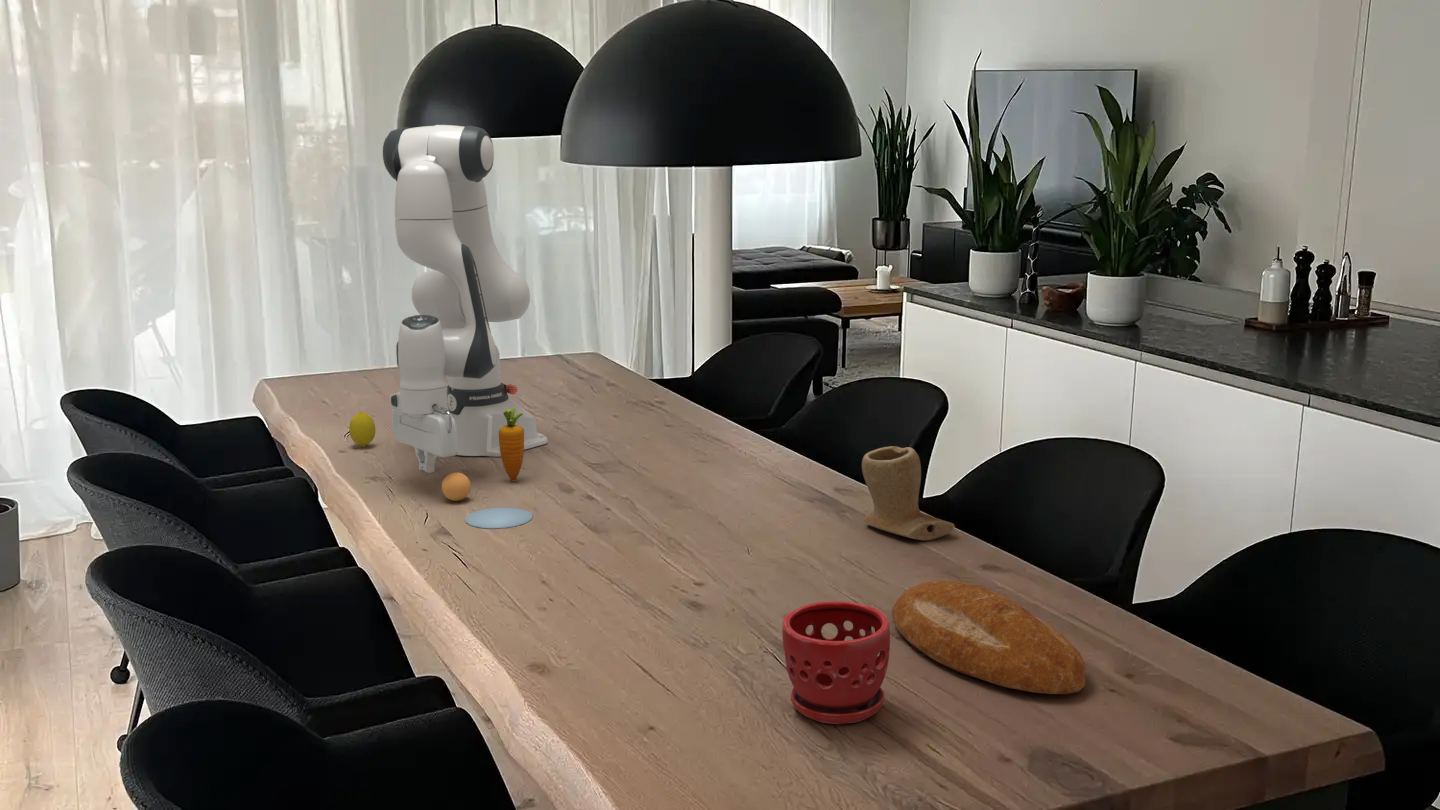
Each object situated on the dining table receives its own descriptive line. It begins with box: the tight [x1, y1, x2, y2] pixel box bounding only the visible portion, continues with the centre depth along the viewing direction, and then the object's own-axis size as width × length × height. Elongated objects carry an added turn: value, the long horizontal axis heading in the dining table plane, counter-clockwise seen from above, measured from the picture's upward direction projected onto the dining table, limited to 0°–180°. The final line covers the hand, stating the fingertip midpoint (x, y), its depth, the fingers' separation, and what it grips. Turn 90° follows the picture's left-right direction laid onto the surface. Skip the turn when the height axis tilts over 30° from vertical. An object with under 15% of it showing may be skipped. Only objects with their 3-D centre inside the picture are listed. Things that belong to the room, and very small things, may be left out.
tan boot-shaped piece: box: [861, 445, 956, 541], centre depth 233 cm, size 15×12×15 cm
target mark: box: [464, 506, 533, 530], centre depth 244 cm, size 12×12×1 cm
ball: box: [441, 471, 472, 502], centre depth 254 cm, size 5×5×5 cm
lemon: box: [348, 411, 376, 448], centre depth 293 cm, size 6×6×8 cm
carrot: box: [499, 408, 525, 482], centre depth 265 cm, size 5×5×15 cm
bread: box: [891, 579, 1086, 695], centre depth 183 cm, size 18×35×9 cm, turn 29°
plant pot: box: [781, 600, 891, 725], centre depth 166 cm, size 13×13×12 cm
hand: (427, 471), depth 260 cm, fingers closed
